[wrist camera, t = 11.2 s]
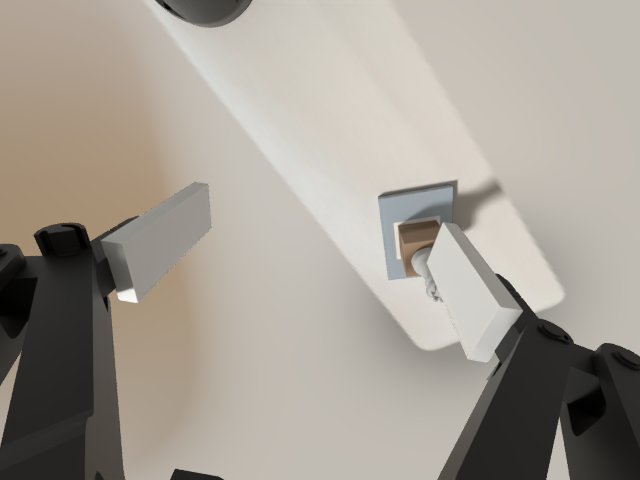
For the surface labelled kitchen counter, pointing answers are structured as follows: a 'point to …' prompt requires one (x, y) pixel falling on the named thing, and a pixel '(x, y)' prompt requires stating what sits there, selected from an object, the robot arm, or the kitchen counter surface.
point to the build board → (411, 219)
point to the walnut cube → (416, 241)
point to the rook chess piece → (426, 272)
